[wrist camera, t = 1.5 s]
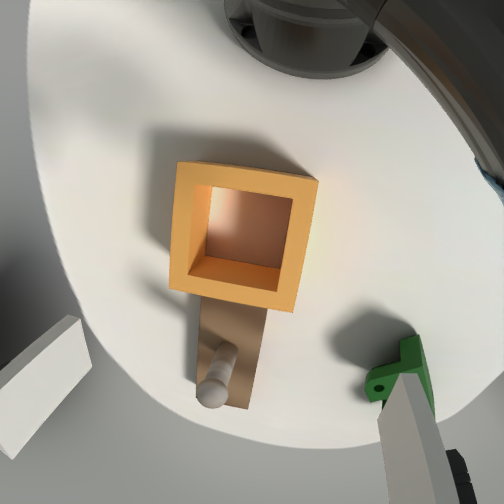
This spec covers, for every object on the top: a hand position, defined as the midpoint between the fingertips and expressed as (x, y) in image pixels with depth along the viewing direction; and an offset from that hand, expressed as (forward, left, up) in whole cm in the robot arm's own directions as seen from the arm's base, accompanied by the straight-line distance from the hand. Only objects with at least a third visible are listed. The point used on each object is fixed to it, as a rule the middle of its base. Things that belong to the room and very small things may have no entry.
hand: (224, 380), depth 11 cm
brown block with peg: (+11, -2, -17) cm, 20 cm away
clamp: (+12, +17, -17) cm, 27 cm away
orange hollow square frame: (-2, -2, -17) cm, 17 cm away
